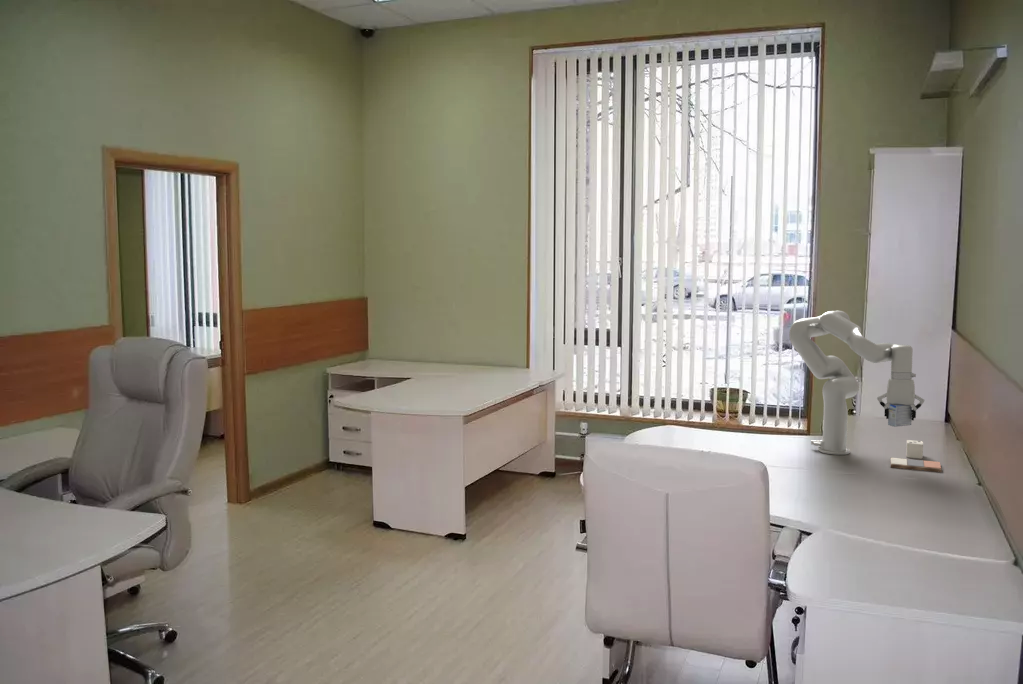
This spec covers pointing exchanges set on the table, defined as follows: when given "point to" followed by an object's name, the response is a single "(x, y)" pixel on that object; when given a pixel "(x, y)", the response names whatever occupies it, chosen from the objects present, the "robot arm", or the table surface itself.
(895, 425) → the medicine box
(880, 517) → the table surface
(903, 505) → the table surface
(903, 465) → the striped colour swatch board
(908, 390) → the robot arm
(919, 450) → the die
